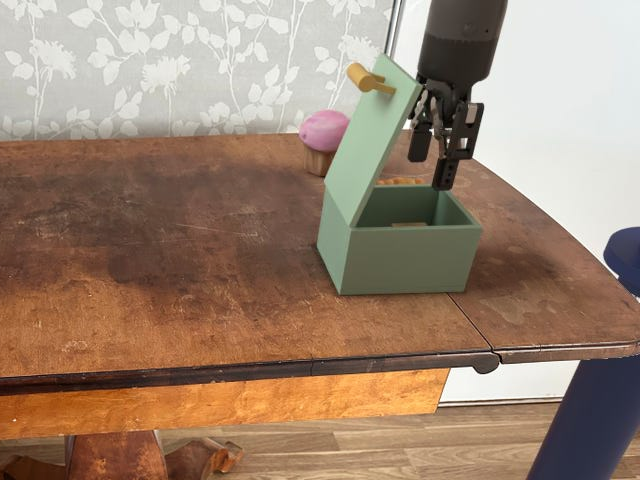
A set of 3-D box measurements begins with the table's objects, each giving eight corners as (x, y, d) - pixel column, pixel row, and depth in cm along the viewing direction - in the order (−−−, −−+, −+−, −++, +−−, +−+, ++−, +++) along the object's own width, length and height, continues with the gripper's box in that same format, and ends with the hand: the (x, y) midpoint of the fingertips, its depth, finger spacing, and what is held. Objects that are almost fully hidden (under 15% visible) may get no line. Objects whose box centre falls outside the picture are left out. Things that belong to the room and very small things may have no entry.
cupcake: (326, 158, 121) (335, 100, 115) (360, 176, 115) (371, 115, 109) (284, 168, 118) (291, 108, 112) (317, 187, 112) (326, 125, 106)
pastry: (361, 209, 105) (366, 185, 103) (357, 191, 111) (362, 168, 108) (426, 213, 104) (432, 189, 102) (419, 194, 110) (424, 171, 107)
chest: (428, 243, 97) (443, 183, 92) (463, 291, 87) (483, 227, 82) (316, 246, 97) (325, 185, 91) (339, 295, 87) (350, 230, 81)
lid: (386, 53, 82) (346, 41, 80) (423, 86, 72) (378, 73, 71) (328, 183, 91) (292, 173, 90) (354, 228, 81) (314, 218, 80)
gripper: (528, 45, 69) (483, 199, 79) (470, 13, 80) (437, 151, 90) (453, 46, 68) (417, 201, 78) (405, 14, 80) (379, 153, 90)
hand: (428, 174), depth 84 cm, fingers open, 8 cm apart
